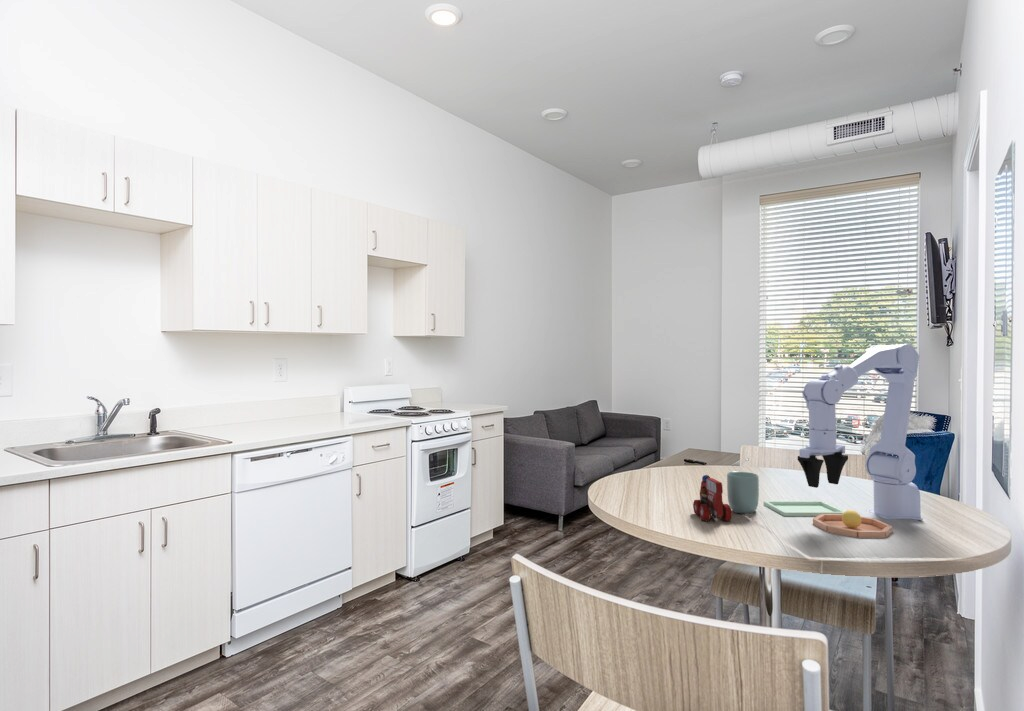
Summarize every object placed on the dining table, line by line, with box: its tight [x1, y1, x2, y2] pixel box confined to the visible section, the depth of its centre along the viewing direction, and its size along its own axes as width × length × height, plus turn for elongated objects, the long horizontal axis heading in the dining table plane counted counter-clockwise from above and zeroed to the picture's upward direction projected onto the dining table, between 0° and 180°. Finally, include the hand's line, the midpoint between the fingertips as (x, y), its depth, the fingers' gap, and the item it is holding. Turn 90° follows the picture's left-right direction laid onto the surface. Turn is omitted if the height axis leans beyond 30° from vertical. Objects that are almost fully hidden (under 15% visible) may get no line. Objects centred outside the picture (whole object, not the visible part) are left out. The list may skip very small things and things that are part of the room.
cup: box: [726, 471, 760, 515], centre depth 146 cm, size 8×8×10 cm
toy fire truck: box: [692, 474, 733, 522], centre depth 141 cm, size 7×12×10 cm, turn 179°
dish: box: [812, 514, 894, 539], centre depth 130 cm, size 15×15×2 cm
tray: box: [763, 500, 846, 517], centre depth 146 cm, size 16×12×2 cm
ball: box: [842, 509, 862, 528], centre depth 130 cm, size 4×4×4 cm
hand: (823, 485), depth 134 cm, fingers open, 7 cm apart
